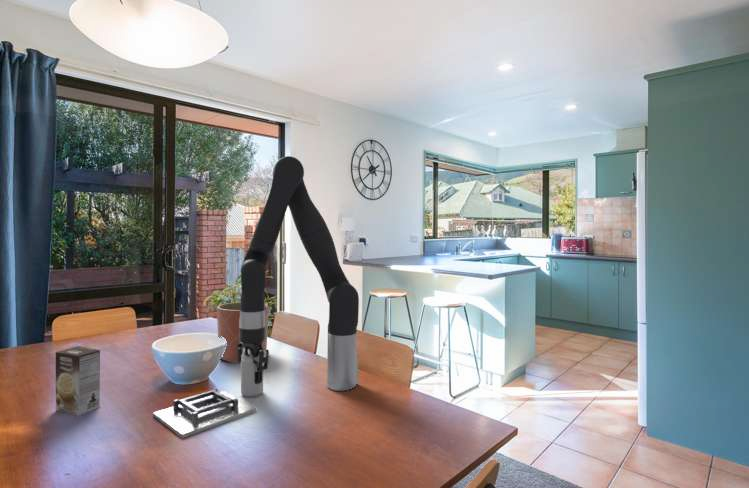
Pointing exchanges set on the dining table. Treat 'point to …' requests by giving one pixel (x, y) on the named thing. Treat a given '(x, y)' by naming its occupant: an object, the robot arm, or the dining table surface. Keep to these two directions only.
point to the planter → (233, 328)
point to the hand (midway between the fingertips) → (251, 380)
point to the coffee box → (77, 380)
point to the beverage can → (249, 378)
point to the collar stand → (202, 412)
